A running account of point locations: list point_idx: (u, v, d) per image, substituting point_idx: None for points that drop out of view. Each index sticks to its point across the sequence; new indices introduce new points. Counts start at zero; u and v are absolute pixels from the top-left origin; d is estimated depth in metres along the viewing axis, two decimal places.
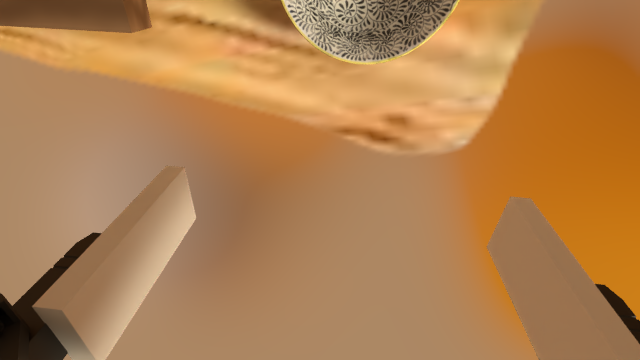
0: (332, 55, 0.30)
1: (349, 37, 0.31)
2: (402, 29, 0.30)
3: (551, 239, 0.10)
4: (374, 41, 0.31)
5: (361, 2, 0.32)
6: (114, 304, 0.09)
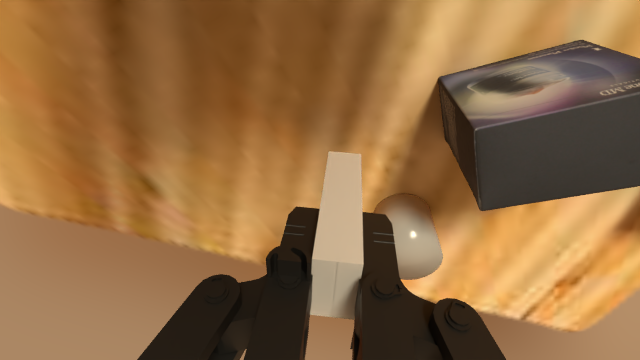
0: None
1: None
2: None
3: (352, 180, 0.13)
4: None
5: None
6: None
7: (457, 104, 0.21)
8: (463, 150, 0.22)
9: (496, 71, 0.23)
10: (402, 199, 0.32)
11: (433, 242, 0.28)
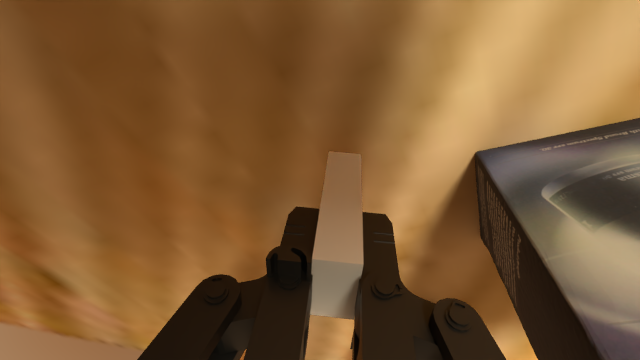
0: None
1: None
2: None
3: (352, 180, 0.13)
4: None
5: None
6: None
7: (530, 242, 0.11)
8: (540, 324, 0.11)
9: (594, 160, 0.12)
10: None
11: None
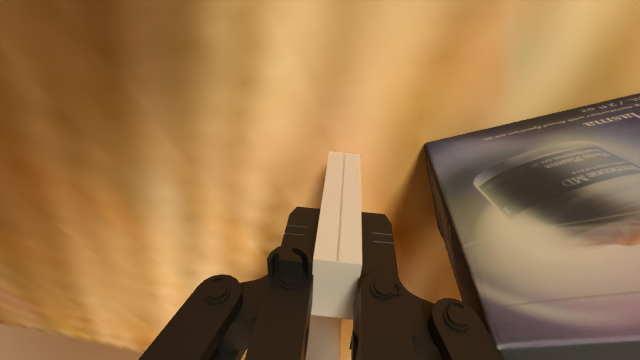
0: None
1: None
2: None
3: (351, 180, 0.13)
4: None
5: None
6: None
7: (454, 229, 0.11)
8: None
9: (528, 149, 0.12)
10: None
11: None
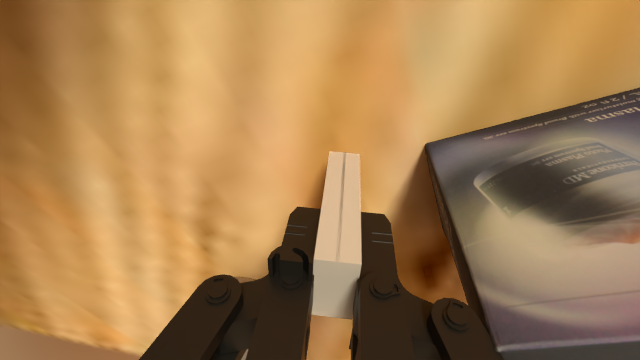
0: None
1: None
2: None
3: (351, 180, 0.13)
4: None
5: None
6: None
7: (455, 230, 0.11)
8: None
9: (528, 147, 0.12)
10: None
11: None
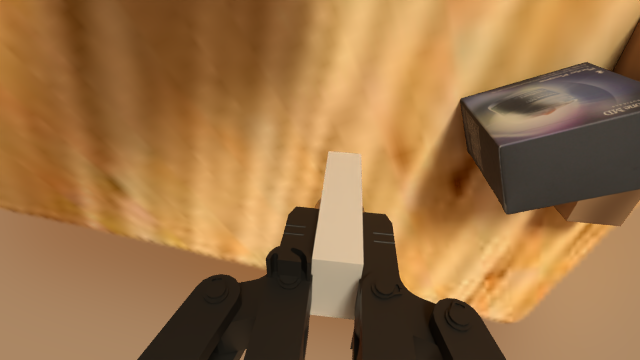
0: None
1: None
2: None
3: (352, 180, 0.13)
4: None
5: None
6: None
7: (480, 124, 0.25)
8: (488, 162, 0.25)
9: (512, 93, 0.26)
10: None
11: None
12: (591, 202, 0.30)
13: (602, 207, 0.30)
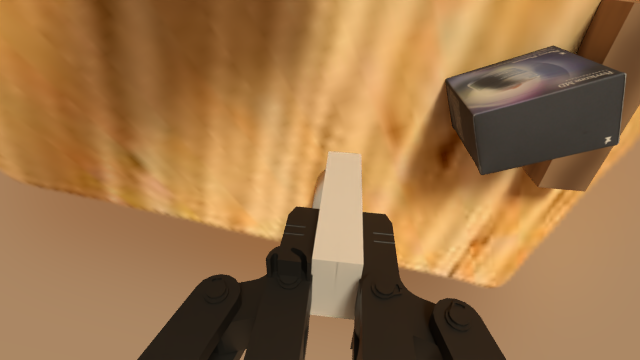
0: None
1: None
2: None
3: (352, 180, 0.13)
4: None
5: None
6: None
7: (460, 99, 0.29)
8: (466, 132, 0.29)
9: (489, 72, 0.30)
10: None
11: None
12: (559, 170, 0.34)
13: (568, 174, 0.34)
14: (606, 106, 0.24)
